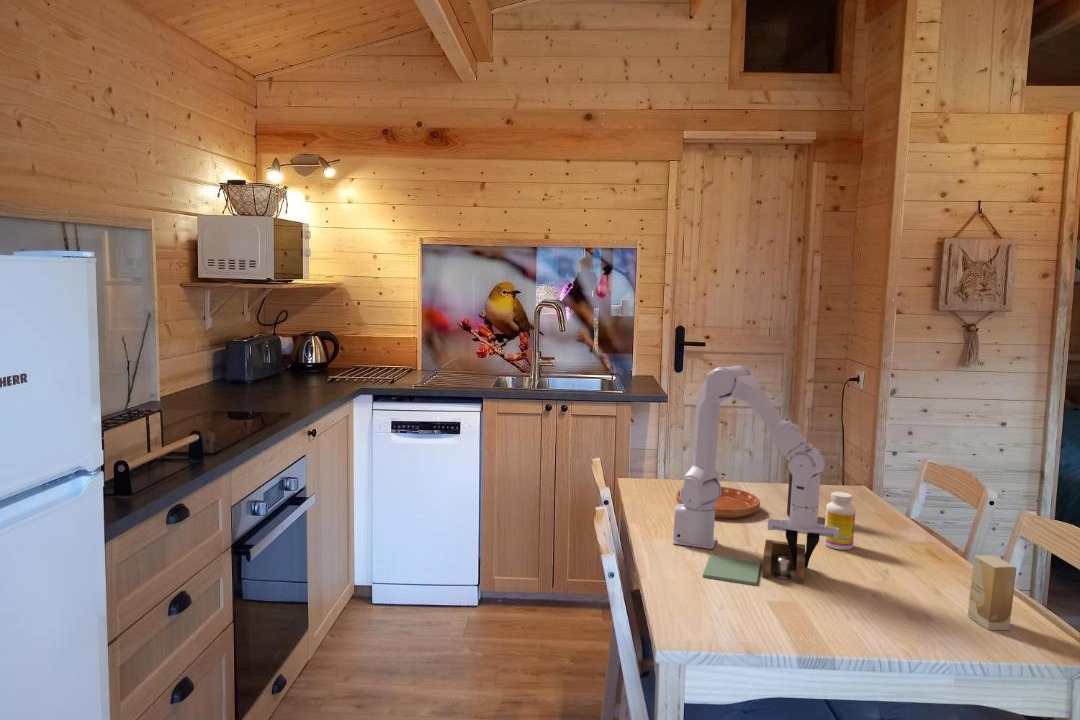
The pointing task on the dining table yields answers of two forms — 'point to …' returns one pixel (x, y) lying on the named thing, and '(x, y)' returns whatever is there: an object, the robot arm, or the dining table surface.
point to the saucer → (733, 503)
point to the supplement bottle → (840, 520)
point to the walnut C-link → (783, 549)
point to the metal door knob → (783, 568)
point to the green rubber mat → (732, 569)
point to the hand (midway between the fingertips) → (800, 565)
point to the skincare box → (991, 592)
